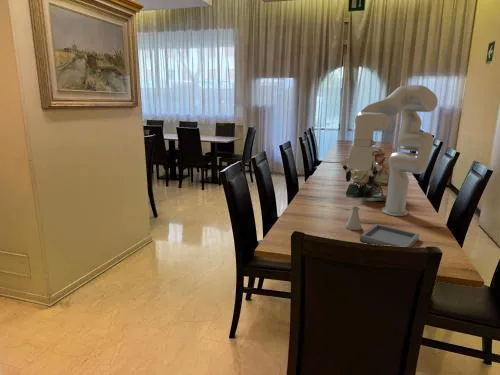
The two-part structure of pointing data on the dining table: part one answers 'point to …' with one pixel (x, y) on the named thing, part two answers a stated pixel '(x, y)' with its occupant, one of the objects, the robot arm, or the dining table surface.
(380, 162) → the rose bouquet
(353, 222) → the flask
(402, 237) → the serving tray
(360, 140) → the robot arm
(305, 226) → the dining table surface
